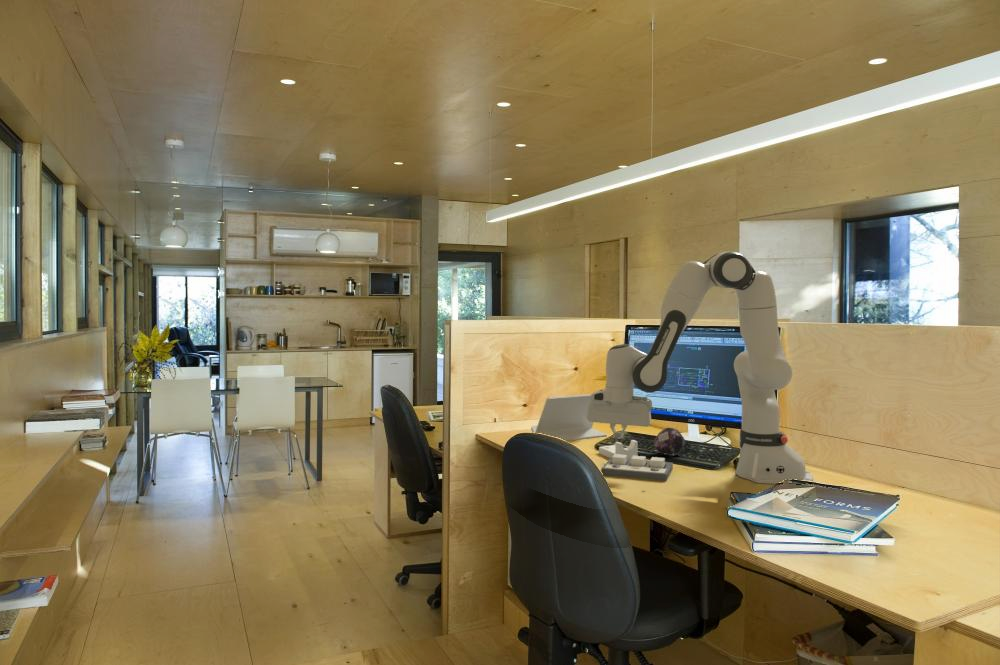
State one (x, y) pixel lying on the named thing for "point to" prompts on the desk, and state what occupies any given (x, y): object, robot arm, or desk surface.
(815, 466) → the desk surface
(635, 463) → the button middle
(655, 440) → the mineral specimen
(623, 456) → the button far
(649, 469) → the button panel
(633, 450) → the bracket
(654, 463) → the button near
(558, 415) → the tablet stand
